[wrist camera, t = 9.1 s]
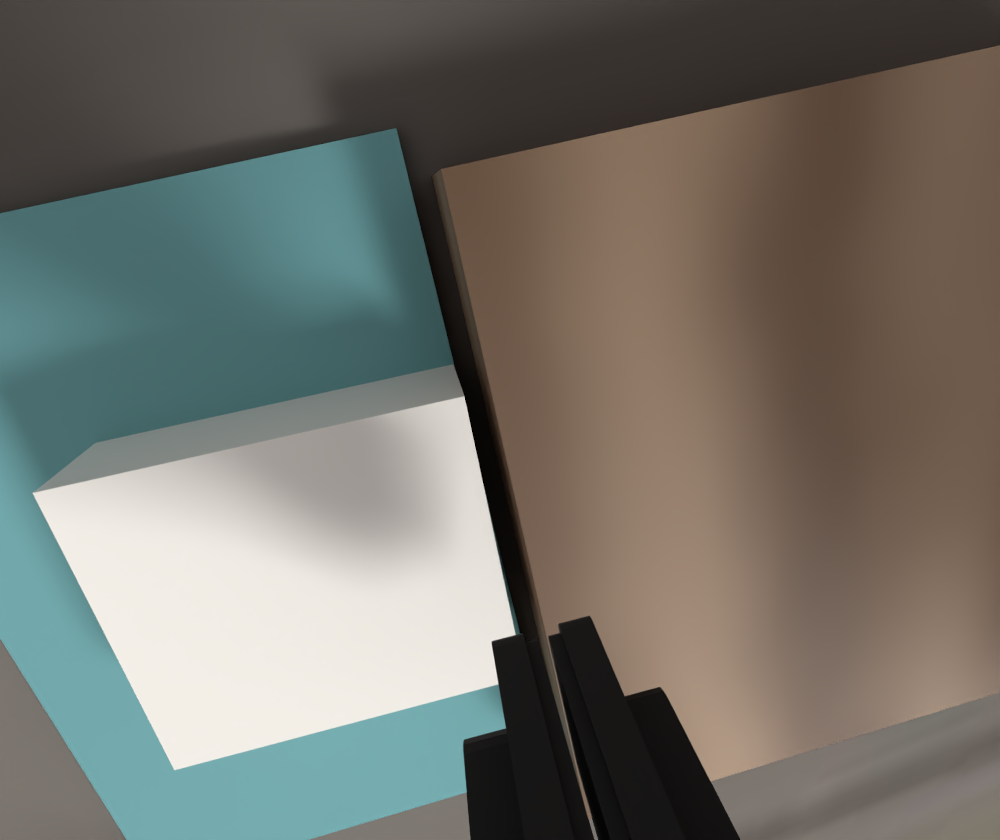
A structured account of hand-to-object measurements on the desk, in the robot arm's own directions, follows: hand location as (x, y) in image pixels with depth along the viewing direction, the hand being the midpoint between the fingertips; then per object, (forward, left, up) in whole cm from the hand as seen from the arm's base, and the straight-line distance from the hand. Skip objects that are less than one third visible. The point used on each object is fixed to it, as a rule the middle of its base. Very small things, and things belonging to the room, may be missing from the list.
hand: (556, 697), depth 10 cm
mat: (+6, 0, -6) cm, 9 cm away
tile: (+4, -1, -6) cm, 7 cm away
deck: (-7, 0, -6) cm, 10 cm away
